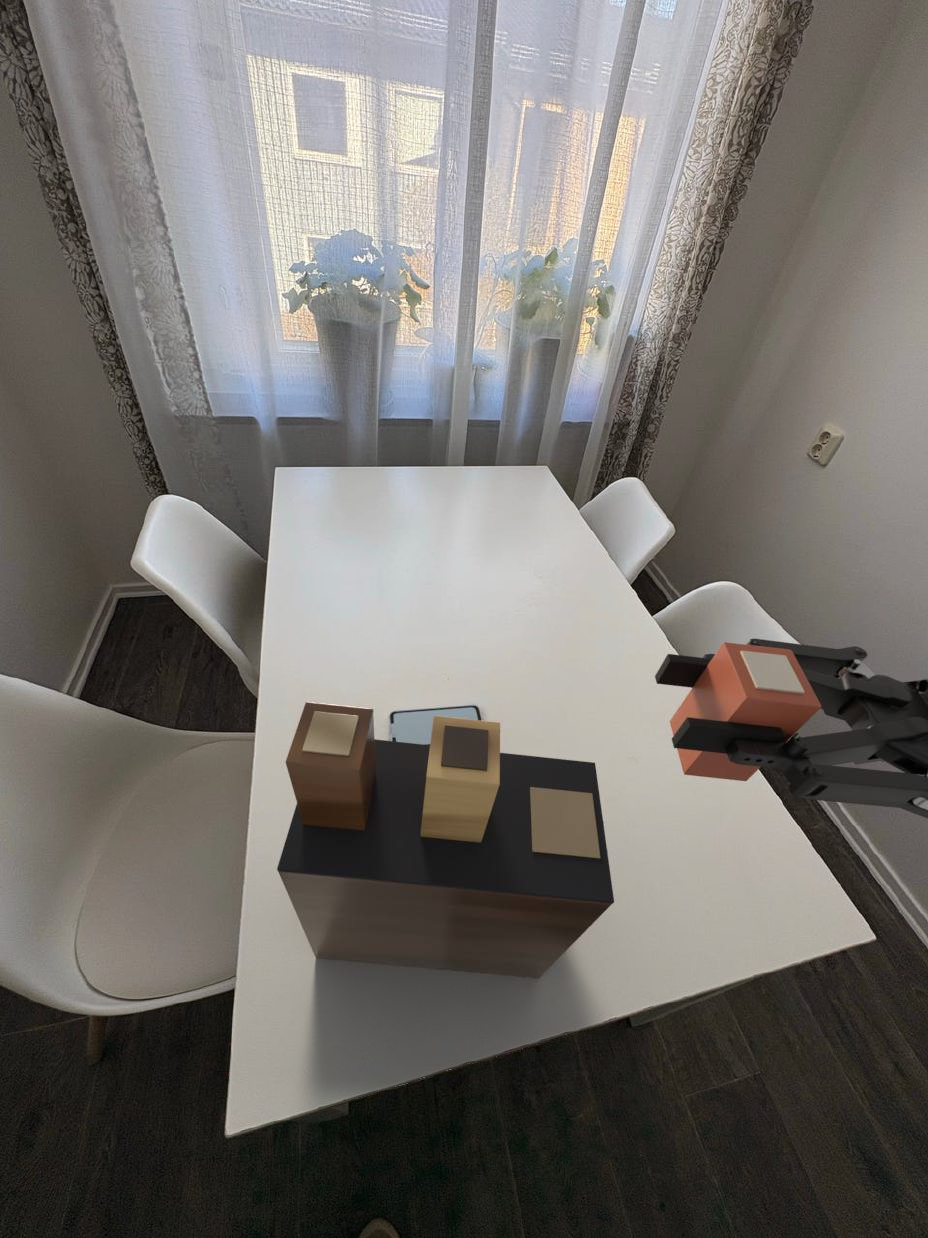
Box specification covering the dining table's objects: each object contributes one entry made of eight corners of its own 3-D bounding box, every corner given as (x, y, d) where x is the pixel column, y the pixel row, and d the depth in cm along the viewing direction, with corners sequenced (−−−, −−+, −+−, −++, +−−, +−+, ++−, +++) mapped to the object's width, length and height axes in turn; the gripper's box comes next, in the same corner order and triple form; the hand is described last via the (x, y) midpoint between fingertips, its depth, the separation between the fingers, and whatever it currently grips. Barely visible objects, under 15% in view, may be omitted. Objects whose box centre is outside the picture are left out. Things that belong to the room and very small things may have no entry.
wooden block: (364, 831, 41) (359, 768, 34) (302, 825, 41) (284, 760, 34) (376, 774, 45) (373, 707, 38) (319, 768, 45) (305, 699, 38)
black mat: (612, 904, 40) (615, 902, 39) (277, 871, 39) (276, 868, 39) (594, 764, 48) (595, 761, 48) (318, 735, 48) (317, 732, 47)
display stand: (539, 979, 59) (612, 904, 40) (315, 958, 59) (277, 871, 39) (535, 870, 68) (594, 764, 48) (339, 851, 67) (318, 735, 48)
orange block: (746, 781, 40) (824, 705, 33) (683, 775, 40) (748, 696, 33) (726, 727, 43) (793, 647, 36) (669, 721, 43) (724, 639, 36)
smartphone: (488, 742, 80) (391, 751, 77) (487, 745, 81) (391, 754, 78) (478, 703, 85) (388, 710, 82) (478, 707, 86) (388, 714, 83)
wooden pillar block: (481, 843, 42) (500, 783, 34) (420, 836, 42) (426, 775, 34) (483, 785, 45) (500, 720, 38) (426, 779, 45) (433, 713, 38)
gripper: (1021, 880, 34) (680, 845, 33) (880, 671, 47) (631, 643, 46) (1136, 834, 29) (734, 791, 28) (942, 613, 42) (663, 580, 41)
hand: (671, 699), depth 37 cm, fingers closed on orange block, 5 cm apart
